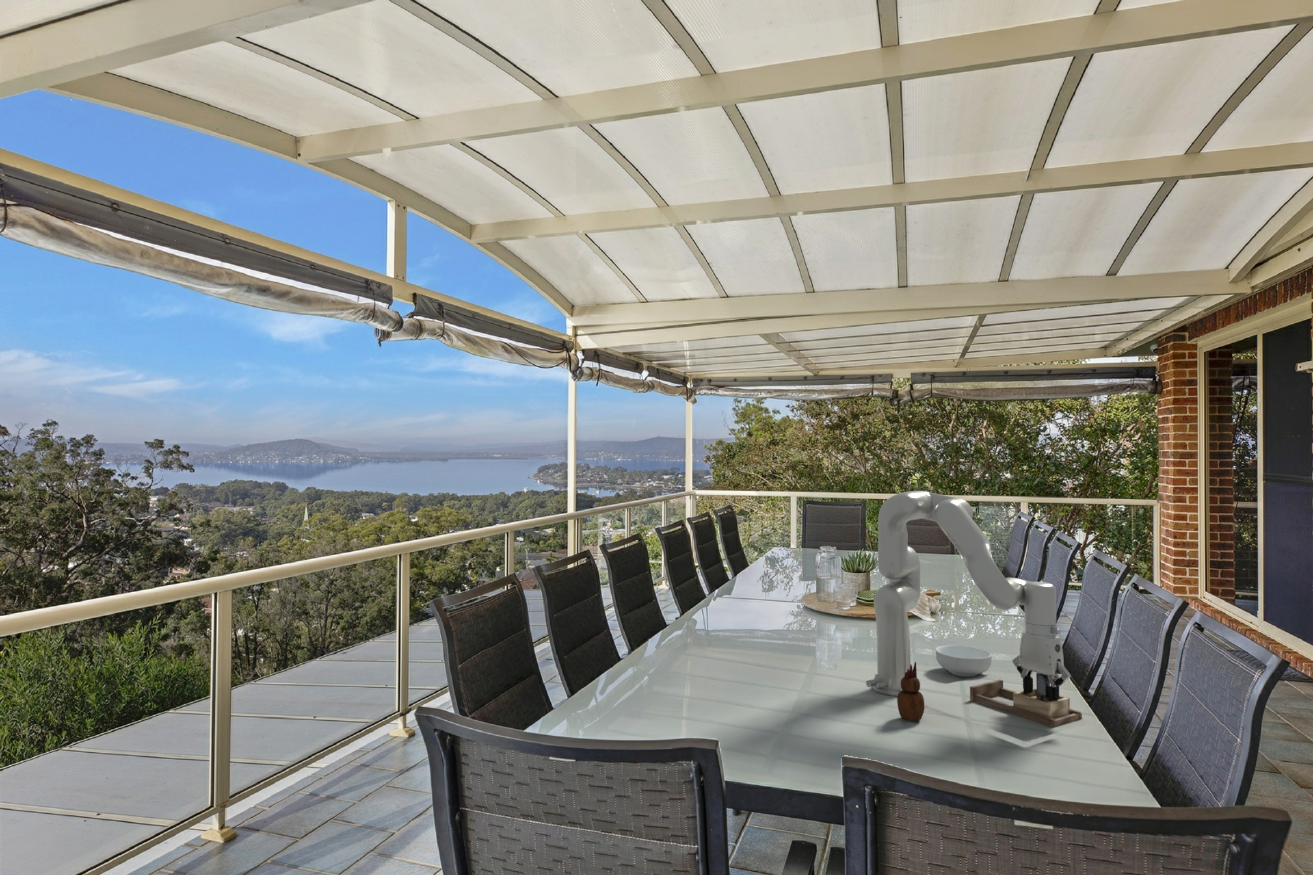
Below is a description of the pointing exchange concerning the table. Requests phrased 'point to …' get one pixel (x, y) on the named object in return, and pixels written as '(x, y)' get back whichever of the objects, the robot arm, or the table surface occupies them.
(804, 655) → the table surface
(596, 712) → the table surface
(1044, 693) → the handle peg
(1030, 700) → the crate
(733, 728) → the table surface
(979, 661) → the cereal bowl
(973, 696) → the tray
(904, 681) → the wooden figurine
